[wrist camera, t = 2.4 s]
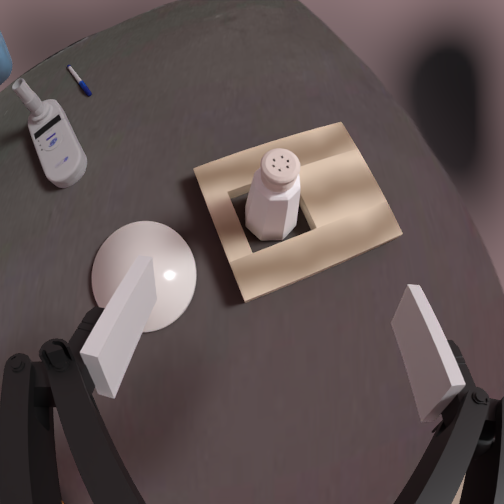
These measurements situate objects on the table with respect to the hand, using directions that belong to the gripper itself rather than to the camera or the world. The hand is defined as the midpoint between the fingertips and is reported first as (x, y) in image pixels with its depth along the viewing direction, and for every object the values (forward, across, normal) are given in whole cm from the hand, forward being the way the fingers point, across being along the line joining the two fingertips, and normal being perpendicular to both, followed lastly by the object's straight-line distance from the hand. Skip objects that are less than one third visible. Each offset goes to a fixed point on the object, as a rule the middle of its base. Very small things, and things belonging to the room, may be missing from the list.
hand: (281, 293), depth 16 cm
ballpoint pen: (+31, -30, +10) cm, 44 cm away
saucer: (+12, -12, -9) cm, 19 cm away
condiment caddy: (+18, +2, -3) cm, 18 cm away
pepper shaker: (+17, 0, -4) cm, 17 cm away
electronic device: (+23, -28, +1) cm, 36 cm away
